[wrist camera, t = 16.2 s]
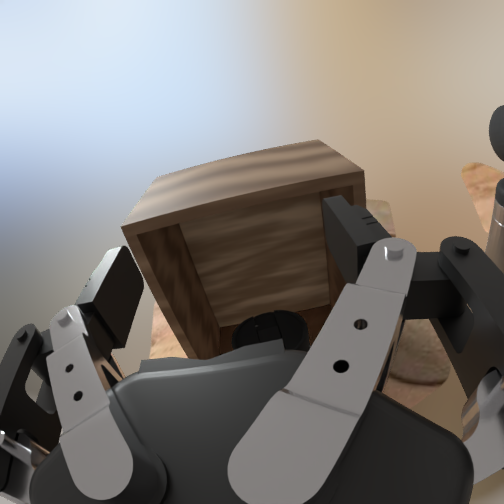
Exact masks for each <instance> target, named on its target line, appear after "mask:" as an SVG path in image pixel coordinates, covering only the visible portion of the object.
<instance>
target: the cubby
mask: <svg viewBox="0 0 504 504" xmlns="http://www.w3.org/2000/svg"><path fill="white" fill-rule="evenodd" d="M339 195H342V196H343V198H344V199H345V200H346V201H347V202H348V203H349V204H350V206H353V205H358V206H361V207H363V208H365V209H366V193H365V177H364V170H363V169H361V168H360V167H359V166H357V165H356V164H354V163H353V162H351V161H350V160H348V159H347V158H345V157H344V156H343V155H341V154H340V153H338V152H336V151H335V150H334V149H332V148H331V147H329V146H327V145H326V144H324V143H323V142H321V141H320V140H312V141H306V142H301V143H295V144H290V145H284V146H279V147H274V148H269V149H264V150H260V151H255V152H250V153H246V154H242V155H237V156H233V157H229V158H225V159H221V160H217V161H213V162H209V163H206V164H202V165H198V166H194V167H190V168H187V169H183V170H180V171H176V172H173V173H169V174H166V175H163V176H159V177H157V178H156V179H155V180H154V182H153V183H152V184H151V185H150V187H149V188H148V189H147V191H146V192H145V193H144V195H143V196H142V197H141V199H140V200H139V201H138V203H137V204H136V205H135V207H134V208H133V210H132V211H131V212H130V214H129V215H128V217H127V218H126V219H125V221H124V222H123V224H122V225H121V229H122V231H123V233H124V236H125V238H126V240H127V242H128V244H129V247H130V249H131V251H132V253H133V255H134V257H135V259H136V262H137V264H138V266H139V268H140V270H141V272H142V274H143V276H144V278H145V280H146V282H147V284H148V286H149V288H150V290H151V292H152V294H153V296H154V298H155V300H156V301H157V303H158V305H159V307H160V309H161V311H162V313H163V315H164V316H165V318H166V320H167V322H168V324H169V325H170V327H171V329H172V331H173V333H174V334H175V336H176V338H177V340H178V341H179V343H180V345H181V346H182V348H183V350H184V351H185V353H186V355H187V356H188V358H189V359H198V360H208V359H211V358H214V357H217V356H219V339H220V327H224V326H230V325H235V324H240V323H242V322H243V321H244V320H246V319H248V318H250V317H252V316H253V317H255V316H257V315H260V314H263V313H267V312H274V310H287V311H291V312H298V311H302V310H307V309H311V308H315V307H320V306H324V305H328V304H330V306H331V308H332V309H333V307H334V306H335V304H336V302H337V300H338V298H339V296H340V294H341V293H342V291H343V289H344V287H345V285H346V282H345V280H344V278H343V276H342V274H341V272H340V270H339V268H338V266H337V264H336V262H335V260H334V258H333V256H332V254H331V252H330V250H329V248H328V244H327V240H326V235H325V225H324V217H323V208H322V199H324V198H329V197H334V196H339Z"/></svg>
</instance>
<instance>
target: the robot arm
mask: <svg viewBox="0 0 504 504" xmlns="http://www.w3.org/2000/svg"><path fill="white" fill-rule="evenodd" d="M489 136H490V141H491V145H492V147H493V149H494V151H495V153H496V154H497V155H498V157H499V158H500V159H501V160H502V161H504V105H503V106H500V107H498V108H497V109H496V110H495V111H494V113H493V115H492V117H491V120H490V125H489ZM322 208H323V217H324V225H325V235H326V240H327V244H328V248H329V250H330V252H331V254H332V256H333V258H334V260H335V262H336V264H337V266H338V268H339V270H340V272H341V274H342V276H343V278H344V280H345V282H346V285H345V287H344V289H343V291H342V293H341V294H340V296H339V298H338V300H337V302H336V304H335V306H334V307H333V309H332V311H331V313H330V315H329V317H328V318H327V320H326V322H325V324H324V325H323V327H322V329H321V331H320V333H319V334H318V336H317V338H316V339H315V341H314V343H313V345H312V346H311V348H310V350H309V351H308V352H305V351H300V350H285V348H284V344H283V340H282V339H278V340H273V341H268V342H263V343H258V344H253V345H247V346H243V347H241V348H238V349H236V350H233V351H230V352H228V353H225V354H222V355H220V356H217V357H214V358H211V359H208V360H198V359H187V358H177V357H167V358H159V359H149V360H141V364H140V369H139V371H138V372H136V373H133V374H131V375H129V376H127V377H125V375H124V373H123V371H122V370H121V368H120V366H119V364H118V362H117V360H116V358H115V357H114V356H113V354H112V353H111V352H112V349H119V348H125V345H126V342H127V338H128V335H129V332H130V329H131V325H132V322H133V319H134V316H135V313H136V310H137V307H138V304H139V301H140V298H141V295H142V292H143V289H144V282H143V278H142V275H141V273H140V271H139V269H138V267H137V265H136V263H135V261H134V259H133V257H132V255H131V253H130V251H129V249H128V248H127V247H126V246H121V247H117V248H113V249H110V250H108V251H107V253H106V254H105V256H104V258H103V260H102V261H101V263H100V264H99V266H98V267H97V268H96V269H95V270H94V271H93V273H92V274H91V276H90V278H89V281H88V282H87V283H86V285H85V287H84V288H83V290H82V292H81V294H80V296H79V297H78V299H77V301H76V303H75V305H71V306H67V307H65V308H63V309H62V310H60V311H59V312H58V313H57V314H56V315H55V316H54V317H53V319H52V320H51V322H50V329H48V330H46V331H43V332H41V333H40V332H39V331H38V329H37V328H36V327H35V325H34V324H28V325H25V326H23V327H22V328H21V329H20V330H19V331H18V332H17V333H16V334H15V336H14V337H13V339H12V341H11V343H10V345H9V347H8V349H7V351H6V353H5V355H4V357H3V360H2V362H1V364H0V496H2V497H4V498H6V499H8V500H10V501H12V502H14V503H16V504H469V501H470V497H471V493H472V488H473V485H474V484H476V483H478V482H480V481H481V480H483V479H485V478H486V477H488V476H490V475H492V474H494V473H495V472H497V471H498V470H500V469H504V178H503V179H501V180H500V181H499V182H498V184H497V187H496V194H495V202H494V209H493V215H492V221H491V226H490V232H489V237H488V242H487V246H486V251H485V253H484V252H483V250H482V249H481V248H480V247H478V245H477V244H476V243H474V242H473V241H471V240H469V239H467V238H463V237H457V236H454V237H448V238H446V239H444V240H443V241H442V242H441V246H440V252H417V251H416V248H415V246H414V245H413V244H412V243H410V242H408V241H406V240H404V239H400V238H392V237H391V236H390V234H389V233H388V232H387V231H386V230H385V229H384V228H383V227H382V225H381V224H380V223H378V221H377V220H376V219H375V218H374V217H373V215H372V214H371V213H370V212H369V211H368V210H367V209H365V208H363V207H361V206H358V205H353V206H350V204H349V203H348V202H347V201H346V200H345V199H344V198H343V196H342V195H339V196H334V197H329V198H324V199H322ZM467 304H468V306H469V307H470V308H471V310H472V312H471V310H470V309H469V307H468V306H467ZM410 319H429V320H430V322H431V324H432V326H433V327H434V329H435V331H436V333H437V335H438V337H439V339H440V341H441V343H442V345H443V347H444V348H445V350H446V352H447V355H448V357H449V359H450V361H451V363H452V365H453V367H454V369H455V371H456V373H457V375H458V378H459V380H460V382H461V384H462V387H463V389H464V391H465V393H466V396H467V398H468V400H467V402H466V403H465V405H464V407H463V410H462V415H461V418H462V425H463V437H462V440H460V439H459V438H458V437H457V436H456V435H454V434H453V433H452V432H450V431H448V430H446V429H444V428H442V427H441V426H439V425H437V424H435V423H433V422H432V421H430V420H428V419H426V418H425V417H423V416H421V415H419V414H417V413H416V412H414V411H412V410H410V409H409V408H407V407H405V406H403V405H402V404H400V403H398V402H397V401H395V400H393V399H392V398H390V397H388V396H386V395H385V394H383V391H384V389H385V386H386V383H387V380H388V377H389V374H390V371H391V368H392V364H393V361H394V358H395V355H396V352H397V349H398V346H399V343H400V340H401V336H402V333H403V329H404V326H405V322H406V320H410ZM30 369H32V370H33V371H34V372H35V373H36V374H37V375H38V376H39V377H40V378H41V379H42V380H43V383H42V386H41V389H40V391H39V395H38V398H37V401H36V403H35V402H34V401H33V400H32V399H31V398H30V397H29V396H28V395H27V393H26V391H25V383H26V380H27V378H28V375H29V372H30ZM62 428H63V434H62V435H61V436H60V433H61V429H62ZM59 438H60V443H59ZM58 443H59V444H58Z"/></svg>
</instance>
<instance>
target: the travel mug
mask: <svg viewBox="0 0 504 504" xmlns="http://www.w3.org/2000/svg"><path fill="white" fill-rule="evenodd" d="M278 339H282V340H283V344H284V348H285V350H300V351H305V352H308V351H309V350H310V348H311V347H310V343H309V335H308V327H307V324H306V322H305V320H304V319H303V318H302V317H301V316H300V315H298V314H296V313H294V312H291V311H287V310H274V312H267V313H263V314H260V315H257V316H255V317H253V316H252V317H250V318H248V319H246V320H244V321H243V322H242V323H241V324H240V325H239V326H238V327H237V328H236V330H235V331H234V333H233V336H232V347H233V350H236V349H238V348H241V347H243V346H247V345H253V344H258V343H263V342H268V341H273V340H278Z"/></svg>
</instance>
